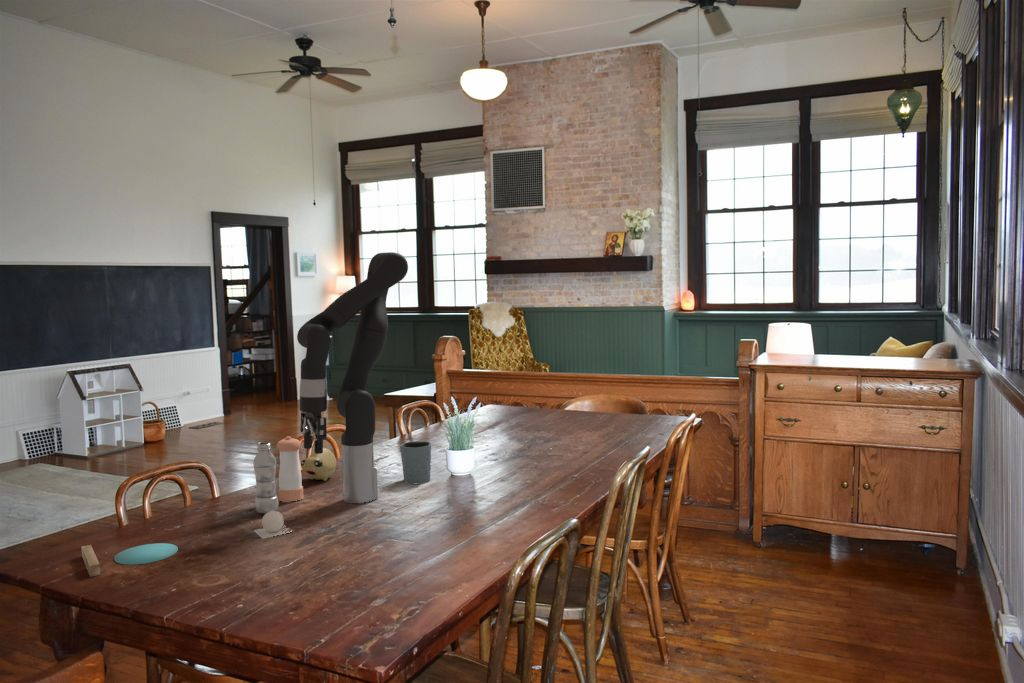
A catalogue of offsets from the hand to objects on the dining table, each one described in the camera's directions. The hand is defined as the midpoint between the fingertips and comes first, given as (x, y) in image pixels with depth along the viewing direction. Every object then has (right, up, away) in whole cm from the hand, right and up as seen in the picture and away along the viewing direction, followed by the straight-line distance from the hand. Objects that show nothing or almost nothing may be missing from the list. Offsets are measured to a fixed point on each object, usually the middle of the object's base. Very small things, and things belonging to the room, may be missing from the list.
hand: (313, 450), depth 218 cm
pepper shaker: (-10, -17, +13) cm, 23 cm away
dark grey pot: (+26, -14, +32) cm, 43 cm away
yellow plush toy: (-7, -15, +35) cm, 38 cm away
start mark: (-6, -19, -17) cm, 26 cm away
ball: (-6, -16, -17) cm, 24 cm away
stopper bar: (-42, -21, -39) cm, 61 cm away
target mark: (-32, -21, -32) cm, 50 cm away
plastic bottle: (-13, -18, 0) cm, 22 cm away
